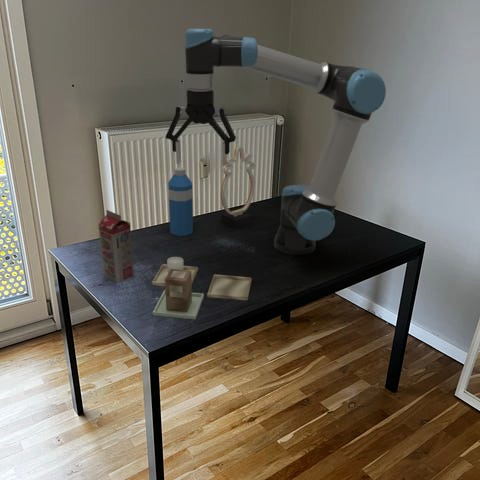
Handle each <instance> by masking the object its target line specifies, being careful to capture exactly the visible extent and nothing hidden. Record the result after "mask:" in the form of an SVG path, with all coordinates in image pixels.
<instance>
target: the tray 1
mask: <svg viewBox="0 0 480 480" xmlns="http://www.w3.org/2000/svg"><path fill="white" fill-rule="evenodd" d="M183 268H184V270H188V271H191V280H192V284H193V283H194V281H195V278H196V277H197V274H198V271H199V266H188V265H183ZM167 275H168V269H167V263H164V264H163V263H162V264H161V265H160V268H159V269H158V271H157V272H156V274H155V276H154V278H153V280H152V281H151V285H152V286H157V287H158V286H159V287H165V278H166V277H167Z"/></svg>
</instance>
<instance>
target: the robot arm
mask: <svg viewBox="0 0 480 480" xmlns="http://www.w3.org/2000/svg"><path fill="white" fill-rule="evenodd" d="M184 50H185V51H184V52H185V55H184V56H185V76H186V77H185V80H186V81H185V83H186V84H185V85H186V88H187V90H186V107H185V106H182V105H178V106H176V107H175V115H174V117H173V119H172V121H171V123H170V126H169V128H168V129H167V133H166V134H165V139H167V140H170V141H171V142H172V143H171V144H172V151H173V153H175V159H176V161H175V162H176V164H177V165H179V164H181V162H182V155H181V153H182V152H181V148H182V147H181V139H179V137H180V136H182V134H183V132H184V131H185V130H187V128H188V127H189V126H190V125H191V123H194V124H196V125H197V124H202V125H203V124H204V125H206V124H209V125H210V127H211V128H213V130H214V131H215V132H216V133H217V135H218V136H219V137H220V139H221V140H222V143H221V146H222V147H221V166H222V167H226V165H227V164H226V159H227V155H229V153H230V143H232V142H235V141H236V139H237V137H236V135H235V132H234V129H233V128H232V126H231V124H230V121H229V119H228V117H227V114H226V109H225V107H223V106H221V107H220V108H219V107H218V108H217V107H216V108H215V106H214V105H215V104H214V103H215V102H214V99H215V97H214V96H215V95H214V94H215V93H214V90H213V89H214V84H215V83H214V81H215V80H214V79H215V78H214V68H215V67H216V68H218V67H227V68H228V67H232V68H233V67H236V68H238V67H239V68H242V69H246V70H250V71H253V72H255V73H258V74H263V75H266V76H269V77H272V78H275V79H276V78H277V79H279V80H282V81H286V82H288V83H289V82H290V83H292V84H297V85H299V86H303V87H306V88H309V89H312V90H313V93H315V94H319V95H321V96H324V97H326V98H328V99H330V100H331V101H333V102H334V103H333V106H332V108H331V110H332V112H333V115H334V118H333V121H332V123H331V126H330V129H329V131H328V134H327V137H326V140H325V142H324V144H323V148H322V150H321V153H320V157H319V159H318V162H317V164H316V168H315V170H314V174H313V176H312V179H311V182H310V183H309V185H307V184H306V185H305V184H291V185H287V186H284V188H283V189H282V192H281V193H282V194H281V204H280V205H281V206H280V225H279V228H278V229H277V232H276V234H275V237H274V240H273V246H274V248H275V250H277V251H278V252H280V253H282V254H286V255H290V256H305V255H309V254H312V253H313V252H314V251H315V250H316V241H321V240H323V239H325V238H327V237H328V236H329V235H330V234H332V232H333V230H334V228H335V225H336V218H335V216H334V211H335V209H336V207H337V202H336V198H335V196H336V192H337V190H338V188H339V185H340V182H341V181H342V178H343V176H344V175H343V174H344V172H345V169H346V166H347V164H348V162H349V159H350V157H351V154H352V152H353V149H354V146H355V143H356V140H357V138H358V135H359V133H360V131H361V129H362V128H361V127H362V126H363V125H364V124H365V123H368V122H369V121H370V119H371V117H372V114H373V113H374V112H375V111H377V110H379V109H380V108H381V107H382V105H383V104H384V102H385V99H386V93H387V92H386V91H387V88H386V84H385V82H384V80H383V78H382V77H381V76H380V75H379V74H378V73H376V72H375V71H372V70H371V69H366V68H361V67H356V66H350V65H340V64H339V65H338V64H333V63H330V62H326V61H324V62H321V63H318V62H314V61H311V60H308V59H305V58H301V57H298V56H295V55H293V54H289V53H286V52H282V51H279V50H277V49H273V48H269V47H266V46H263V45H259V44H258V42H257V40H256V38H254V37H247V36H232V35H229V34H222V35H220V36H215V34H214V30H213V29H211V28H188V29H187V30H186V31H185V46H184ZM184 112H185V114H186V115H187V117H188V118H187V119H186V121H185V122H184V123H183V124H182V125H181V127H180V128H179V129H178V130H177V131H176V133H175V134H173V133H174V131H175V129H176V127H177V125H178V123H179V120H180V119H181V115H184ZM215 114H217V116H218V117H220V121H221V122H222V125H223V127H224V129H225V130H226V132H225V130H223V129H222V127H221V126H220V125H219V123H217V121H216V119H215V118H214V117H213V116H214V115H215Z"/></svg>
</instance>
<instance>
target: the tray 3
mask: <svg viewBox="0 0 480 480" xmlns="http://www.w3.org/2000/svg"><path fill="white" fill-rule="evenodd" d="M252 280H253V279H252V277H249V276H235V275H225V274H224V275H223V274H213V277H212V280H211V282H210V285H209V288H208V291H207V294H206V297H207V298H214V299H225V300H226V299H227V300H236V301H237V300H238V301H248V300H249V294H250V291H251V290H250V289H251V285H252V282H253V281H252Z"/></svg>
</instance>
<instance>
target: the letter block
mask: <svg viewBox="0 0 480 480" xmlns="http://www.w3.org/2000/svg"><path fill="white" fill-rule="evenodd" d="M164 288H165V289H164V290H165V291H166V310H168V311H179V312H188V309H189V307H190V304H191V302H192V293H193V292H192V291H193V283H192V280H191V271H188V270H176V269H170V271H169V273H168V275H167V277H166V278H165V286H164Z"/></svg>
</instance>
